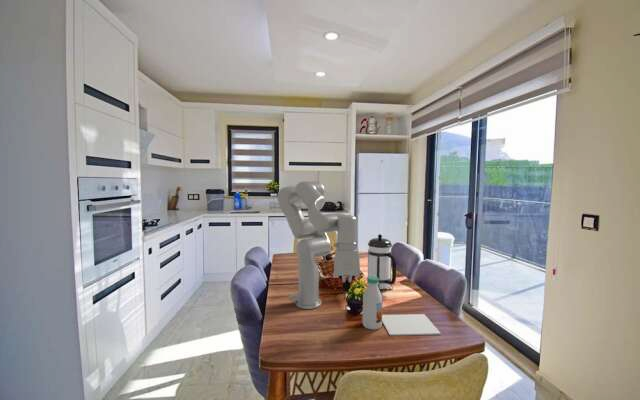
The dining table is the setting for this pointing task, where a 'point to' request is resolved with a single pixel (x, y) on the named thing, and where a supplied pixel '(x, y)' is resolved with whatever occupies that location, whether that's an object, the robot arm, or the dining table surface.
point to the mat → (409, 325)
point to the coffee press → (381, 262)
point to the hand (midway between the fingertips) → (346, 290)
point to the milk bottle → (372, 305)
